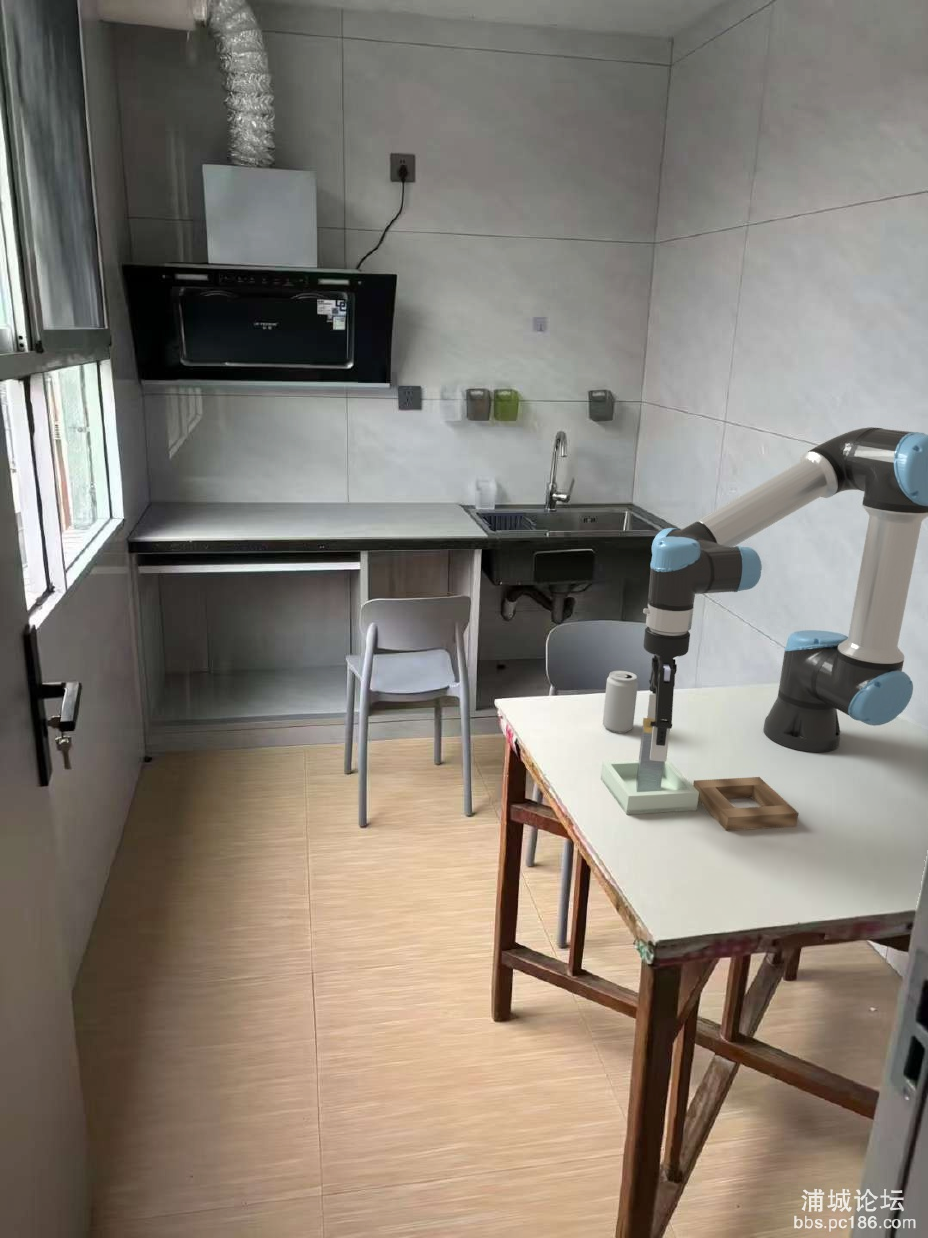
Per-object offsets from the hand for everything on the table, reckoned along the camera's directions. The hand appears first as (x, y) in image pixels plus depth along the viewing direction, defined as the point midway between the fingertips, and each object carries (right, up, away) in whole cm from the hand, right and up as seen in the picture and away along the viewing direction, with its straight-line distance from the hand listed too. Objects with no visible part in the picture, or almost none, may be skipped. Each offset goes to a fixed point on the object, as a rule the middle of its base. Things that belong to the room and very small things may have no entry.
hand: (655, 742), depth 153 cm
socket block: (+15, -11, -1) cm, 19 cm away
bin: (-1, -10, +3) cm, 10 cm away
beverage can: (-2, -1, +30) cm, 30 cm away
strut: (-1, -9, +3) cm, 9 cm away
